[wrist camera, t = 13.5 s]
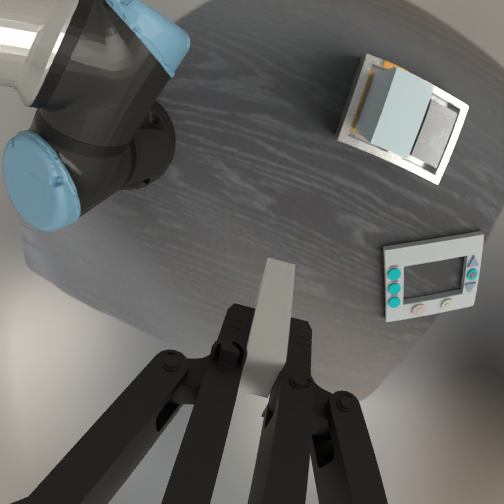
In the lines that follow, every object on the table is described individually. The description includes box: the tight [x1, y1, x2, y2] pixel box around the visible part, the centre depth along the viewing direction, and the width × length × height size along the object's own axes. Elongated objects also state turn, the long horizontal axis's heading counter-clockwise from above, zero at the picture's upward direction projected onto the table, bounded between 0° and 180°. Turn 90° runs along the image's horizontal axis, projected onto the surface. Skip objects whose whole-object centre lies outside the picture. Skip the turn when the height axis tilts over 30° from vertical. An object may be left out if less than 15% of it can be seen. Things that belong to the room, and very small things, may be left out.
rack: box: [335, 54, 469, 185], centre depth 33 cm, size 15×12×6 cm
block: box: [353, 67, 434, 159], centre depth 29 cm, size 4×8×12 cm, turn 165°
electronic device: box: [383, 231, 484, 322], centre depth 46 cm, size 18×2×15 cm
